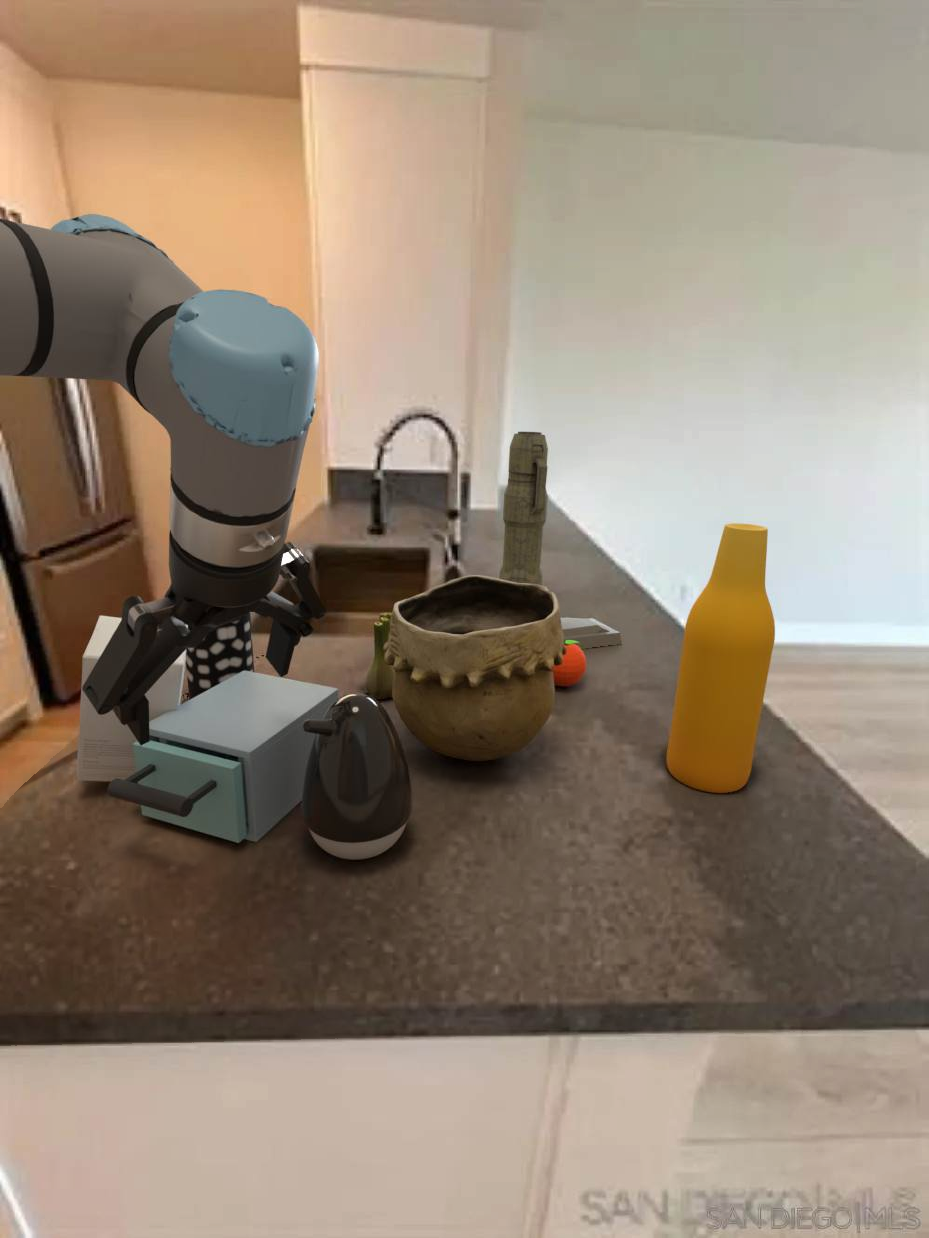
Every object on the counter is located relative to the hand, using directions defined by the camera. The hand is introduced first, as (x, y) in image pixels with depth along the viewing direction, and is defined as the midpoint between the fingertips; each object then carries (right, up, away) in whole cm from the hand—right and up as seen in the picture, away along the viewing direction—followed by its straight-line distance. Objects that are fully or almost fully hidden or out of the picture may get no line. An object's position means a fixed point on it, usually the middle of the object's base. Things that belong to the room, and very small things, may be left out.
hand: (211, 696), depth 61 cm
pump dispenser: (+13, -14, +3) cm, 19 cm away
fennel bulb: (+11, -4, +35) cm, 37 cm away
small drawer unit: (0, -11, +11) cm, 16 cm away
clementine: (+38, -3, +41) cm, 56 cm away
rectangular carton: (-14, -8, +13) cm, 21 cm away
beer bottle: (+51, -11, +17) cm, 55 cm away
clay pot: (+24, -9, +21) cm, 33 cm away
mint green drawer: (-2, -11, +7) cm, 14 cm away
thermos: (+35, +10, +82) cm, 89 cm away
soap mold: (+40, +3, +60) cm, 72 cm away
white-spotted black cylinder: (-9, -5, +29) cm, 31 cm away
